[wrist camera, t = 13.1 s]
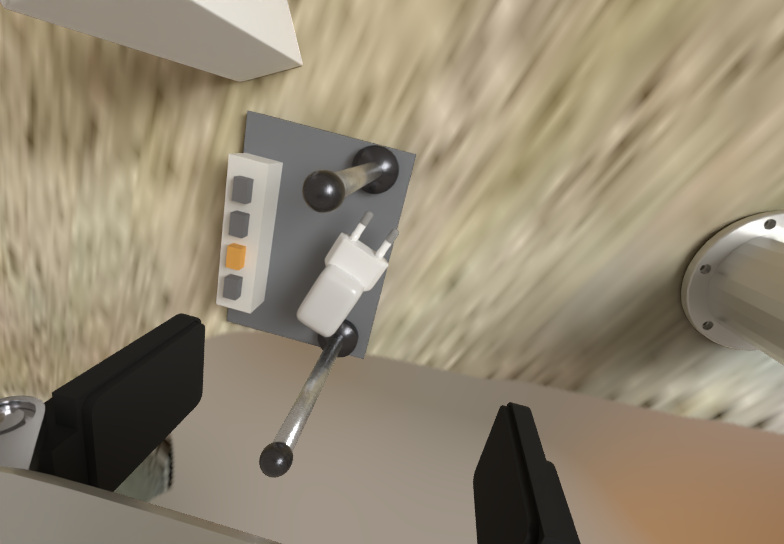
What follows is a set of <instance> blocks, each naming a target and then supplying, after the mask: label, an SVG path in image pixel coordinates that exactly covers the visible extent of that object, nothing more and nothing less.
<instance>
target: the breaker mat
mask: <svg viewBox="0 0 784 544" xmlns="http://www.w3.org/2000/svg"><path fill="white" fill-rule="evenodd" d="M371 145H378V144H374V143H371V142H367V141H363V140H359V139H355V138H351V137H348V136H344V135H340V134H336V133H332V132H329V131H325V130H321V129H317V128H313V127H310V126H306V125H302V124H298V123H294V122H291V121H287V120H283V119H279V118H275V117H272V116H268V115H264V114H260V113H256V112H252V111H247V121H246V131H245V141H244V151H243V153H233V154H229V159H228V171H227V183H226V194H225V206H224V218H223V229H222V241H221V253H220V264H219V276H218V288H217V299H216V304H218V305H221V306H225V307H228V314H227V321H229V322H232V323H236V324H240V325H243V326H247V327H250V328H254V329H257V330H261V331H265V332H268V333H272V334H275V335H279V336H283V337H286V338H290V339H294V340H297V341H301V342H305V343H308V344H312V345H315V346H319V347H320V345H319V343H318V333H317V332H315V331H314V330H312V329H311V328H309V327H307V326H306V325H304V324H303V323H302V322H300V321H299V320H298V319H297V315H296V314H297V311H298V308H299V307H300V305H301V303H302V302H303V300H304V298H305V297H306V295H307V294H308V292H309V291H310V289H311V287H312V286H313V284H314V283H315V281H316V280H317V278H318V277H319V275H320V274H321V272H322V271H323V270H324V268H325V267H326V266H325V257H326V256H327V254H328V252H329V251H330V249H331V248H332V246H333V244H334V243H335V241H336V240H337V238H338V237H339V235H340V234H341V233H342V232H343V233H348V234H350V235H351V234H352V233H353V231H354V230H355V229H356V227H357V226H358V224H359V222H360V220H361V219H362V217H363V216H364V214H365V212H366V211H371V212H372V213H373V217H372V219H371V221H370V222H369V224H368V225H367V226H366V227H365V229H364V230H363V232H362V233H361V235H360V237H359V239H358V240H359V241H361V242H362V243H364V244H365V245H367V246H368V247H370V248H371V249H373V250H374V251H376V252H377V250H378V249H379V248H380V247H381V245H382V244H383V242H384V241H385V239H386V237H387V236H388V234H389V233H390V231H391V230H392V229H397V228H398V224H399V220H400V216H401V212H402V208H403V204H404V200H405V196H406V192H407V188H408V184H409V181H410V177H411V173H412V169H413V165H414V161H415V157H416V154H412V153H409V152H405V151H401V150H397V149H393V148H390V147H386V146H383V147H386V148H388V149H389V150H390V151H392V152H393V154H394V155H395V156H396V158H397V160H398V164H399V175H398V178H397V181H396V182H395V184H394V185H393V186H392V187H391V188H390V189H389V190H387V191H386V192H383V193H380V194H370V193H367V192H365V191H363V190H362V189H358V190H356V191H355V192H353V193H351V194H350V195H348V196H346V197H345V198H344V201H343V203H342V205H341V206H340V207H339V208H338V209H337V210H335V211H333V212H330V213H319V212H316V211H314V210H312V209H311V208H310V207H309V206H308V205H307V204H306V203H305V201H304V199H303V196H302V186H303V182H304V180H305V179H306V177H307V176H308V175H309V174H310V173H312V172H314V171H316V170H329V171H332V172H338V171H341V170H345V169H349V168H351V167H352V162H353V159H354V157H355V155H356V154H357V153H358V152H359V151H360V150H361V149H363V148H364V147H367V146H371ZM380 146H382V145H380ZM393 243H394V242H393ZM393 243H392V244H391V246H390V247H389V248H388V250H387V251H386V253H385V255H384V256H383V257H384V258H385V259H386V260H387V262H388V263H389V259H390V255H391V251H392V247H393ZM386 271H387V268H386V270H385V271H384V273H383V274H382V275H381V277H380V278H379V280H378V281H377V282H376V284H375V285H374V287H373V288H372V289H371V290H369V291H365V292H363V293H362V295H361V296H360V298H359V299H358V301H357V303H356V304H355V305H354V307H353V308H352V310H351V311H350V313H349V314H348V315H347V317H346V318H345V319H346V320H348V321H350V322H351V323H353V325H354V326H355V327H356V329H357V331H358V335H359V338H358V342H357V345H356V347H355V349H354V351H353V352H352V353H351V354H349V355H351V356H354V357H358V358H362V359H364V356H365V353H366V349H367V345H368V341H369V337H370V333H371V329H372V325H373V321H374V318H375V314H376V310H377V306H378V302H379V298H380V294H381V290H382V286H383V282H384V278H385V274H386Z"/></svg>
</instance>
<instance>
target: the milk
mask: <svg viewBox="0 0 784 544" xmlns="http://www.w3.org/2000/svg"><path fill="white" fill-rule="evenodd" d="M0 1H1V4H2V6H3V7H4V8H5V9H8V10H11V11H14V12H17V13H21V14H24V15H27V16H30V17H33V18H37V19H40V20H43V21H46V22H49V23H53V24H56V25H59V26H62V27H65V28H69V29H72V30H75V31H78V32H81V33H85V34H88V35H91V36H94V37H97V38H100V39H104V40H107V41H110V42H113V43H116V44H120V45H123V46H126V47H129V48H132V49H136V50H139V51H142V52H145V53H148V54H152V55H155V56H158V57H161V58H164V59H168V60H171V61H174V62H177V63H180V64H184V65H187V66H190V67H193V68H196V69H199V70H203V71H206V72H209V73H212V74H215V75H219V76H222V77H225V78H228V79H231V80H235V81H238V82H243V81H247V80H251V79H254V78H258V77H262V76H265V75H269V74H273V73H277V72H280V71H284V70H288V69H292V68H295V67H299V66H302V65H303V63H302V59H301V55H300V50H299V46H298V42H297V38H296V34H295V30H294V26H293V22H292V18H291V14H290V10H289V6H288V2H287V0H0Z"/></svg>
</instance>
